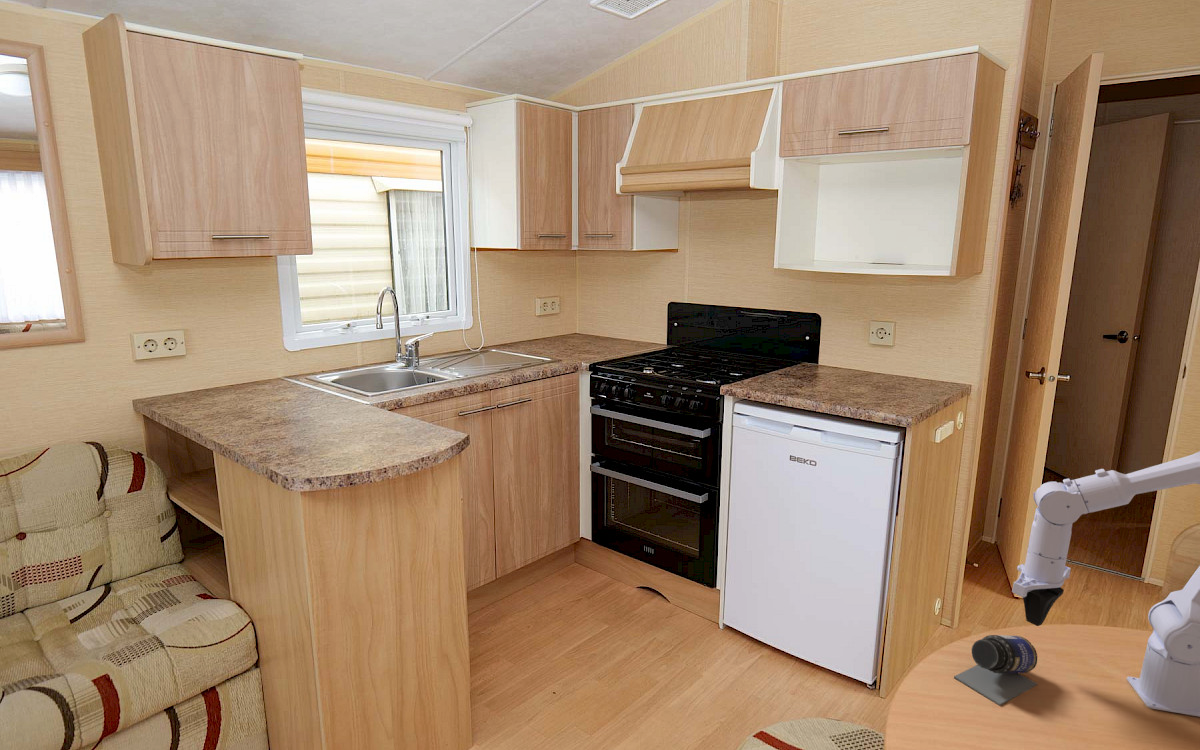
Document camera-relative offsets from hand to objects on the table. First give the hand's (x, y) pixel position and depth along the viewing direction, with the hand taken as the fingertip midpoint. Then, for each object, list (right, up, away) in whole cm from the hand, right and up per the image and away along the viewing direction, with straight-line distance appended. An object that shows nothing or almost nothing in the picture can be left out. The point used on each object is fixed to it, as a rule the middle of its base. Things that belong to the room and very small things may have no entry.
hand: (1033, 622), depth 123 cm
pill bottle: (-2, -6, 0) cm, 6 cm away
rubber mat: (-9, -9, -3) cm, 13 cm away
